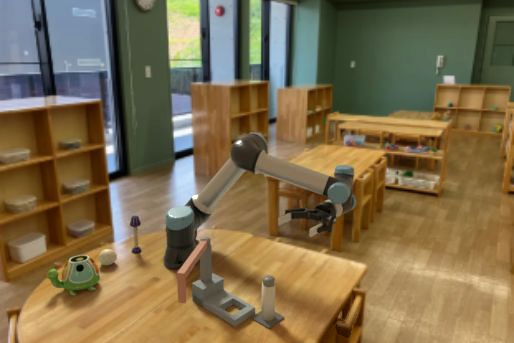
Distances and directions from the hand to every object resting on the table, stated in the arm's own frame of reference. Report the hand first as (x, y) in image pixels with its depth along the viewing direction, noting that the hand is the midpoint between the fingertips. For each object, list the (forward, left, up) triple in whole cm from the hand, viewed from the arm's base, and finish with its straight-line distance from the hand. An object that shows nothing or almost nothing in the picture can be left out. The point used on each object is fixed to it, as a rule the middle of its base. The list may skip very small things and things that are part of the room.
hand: (294, 227), depth 144 cm
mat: (0, -13, -30) cm, 33 cm away
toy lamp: (-75, -17, -30) cm, 83 cm away
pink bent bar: (-19, -28, -17) cm, 38 cm away
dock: (-16, -19, -30) cm, 39 cm away
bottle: (0, -13, -29) cm, 32 cm away
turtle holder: (-65, -49, -30) cm, 87 cm away
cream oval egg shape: (-73, -32, -30) cm, 85 cm away
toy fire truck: (-69, +5, -30) cm, 76 cm away
